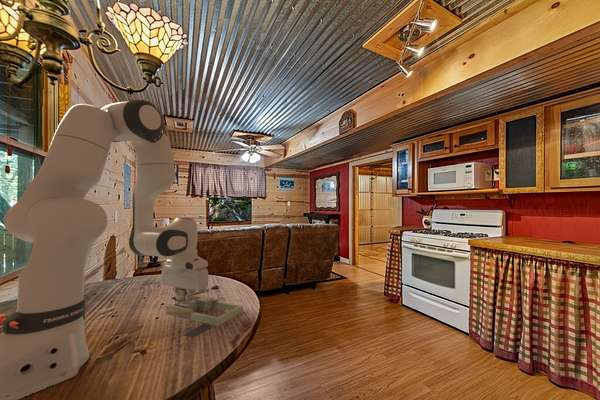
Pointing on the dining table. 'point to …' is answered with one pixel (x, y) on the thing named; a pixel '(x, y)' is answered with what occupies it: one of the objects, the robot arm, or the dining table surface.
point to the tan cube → (188, 304)
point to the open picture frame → (217, 321)
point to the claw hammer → (198, 292)
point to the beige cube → (204, 303)
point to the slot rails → (184, 311)
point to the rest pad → (198, 330)
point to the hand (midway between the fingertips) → (183, 299)
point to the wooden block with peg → (181, 296)
